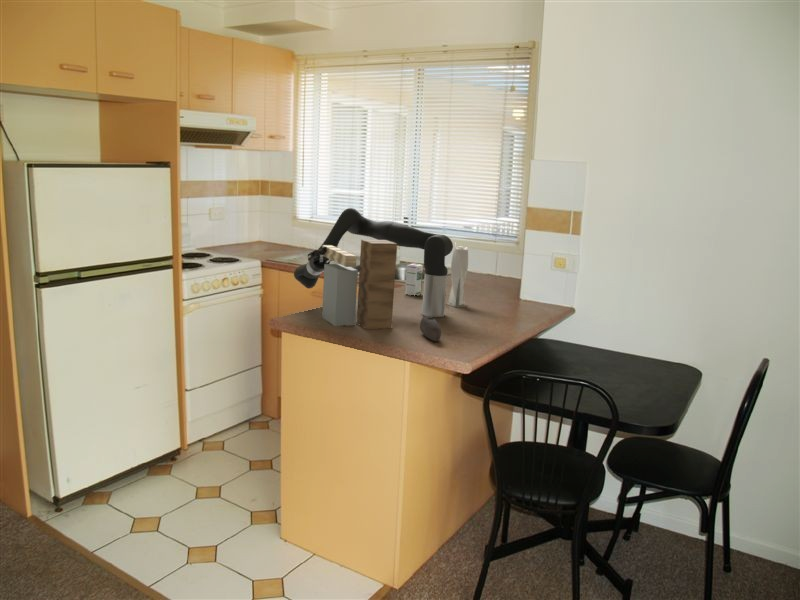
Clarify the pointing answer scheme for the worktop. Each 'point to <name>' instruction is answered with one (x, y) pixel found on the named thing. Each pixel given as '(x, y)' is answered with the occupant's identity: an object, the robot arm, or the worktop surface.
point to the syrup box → (414, 279)
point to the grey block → (339, 294)
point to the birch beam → (340, 256)
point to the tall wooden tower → (376, 283)
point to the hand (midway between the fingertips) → (331, 248)
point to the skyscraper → (458, 276)
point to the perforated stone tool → (430, 328)
